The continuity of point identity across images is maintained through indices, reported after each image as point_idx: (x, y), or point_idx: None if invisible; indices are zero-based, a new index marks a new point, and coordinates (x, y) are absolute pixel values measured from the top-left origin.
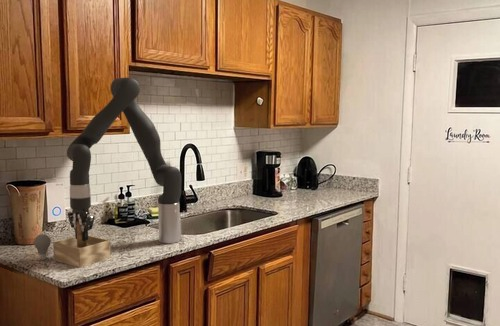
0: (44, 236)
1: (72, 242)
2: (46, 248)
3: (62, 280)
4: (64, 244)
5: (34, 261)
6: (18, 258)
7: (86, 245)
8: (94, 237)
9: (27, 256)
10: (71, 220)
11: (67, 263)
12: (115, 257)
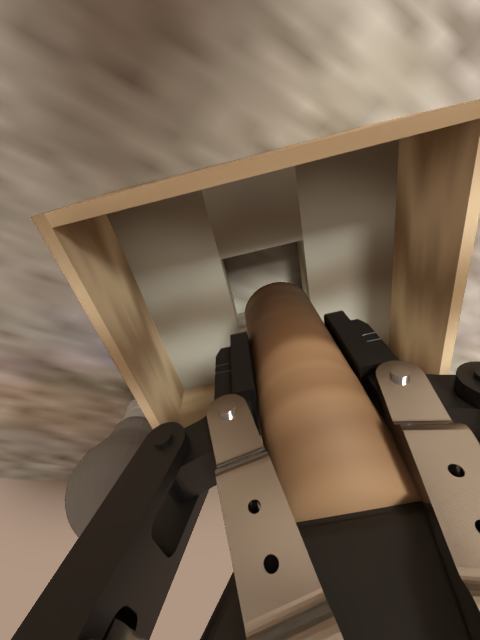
0: None
1: (128, 325)
2: None
3: None
4: (154, 378)
5: None
6: (70, 456)
7: (298, 288)
8: (234, 180)
9: (55, 431)
10: (170, 579)
11: None
12: (411, 79)
